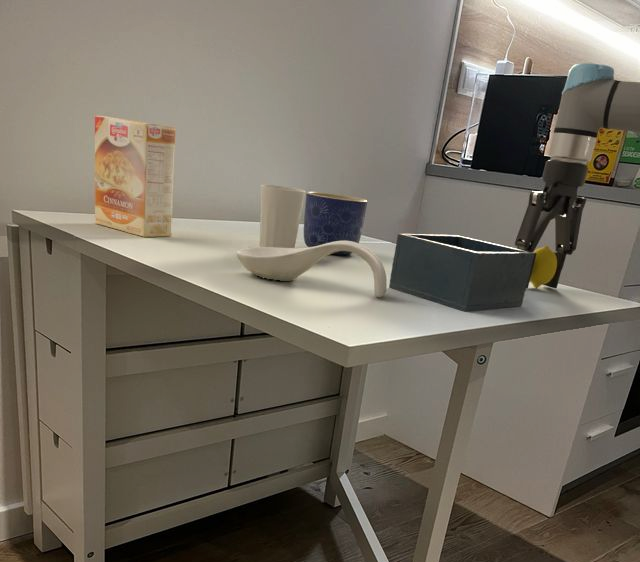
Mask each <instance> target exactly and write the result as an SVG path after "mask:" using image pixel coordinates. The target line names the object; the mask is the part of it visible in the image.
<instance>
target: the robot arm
mask: <svg viewBox="0 0 640 562" xmlns="http://www.w3.org/2000/svg"><path fill="white" fill-rule="evenodd" d="M614 75H615V69H614V68H613V67H612V66H610V65H606V64H597V63H592V62H589V63H587V62H584V63H577V64H574V65H573V66H571V67H570V69H569V71H568V74H567V78H566V82H565V84H564V88H563V90H562V91H561V99H560V103H559V108H558V112H557V115H556V116H557V117H556V119H555V120H556V121H555V125H554V129H553V133H552V138H551V141H550V146H549V149H548V153H547V156H548V157H549V158H550V159H547V161H545V164H544V169H543V172H542V176H541V181H543V182H544V186H543V188H542V190H541V191H534V190H531V192H529V197H528V203H527V207H526V210H525V213H524V216H523V219H522V222H521V223H520V227H519V230H518V233H517V235H516V238H515V241H514V246H515V247H516V249H519V250H524V251H528V252H532V253H533V252H534V251H535V250H536V248H537V246H538V244H539V243H540V241H541V239H542V237H543V235H544V233H545V231H546V229H547V228H548V226H549V223H550V222H551V221H552V220H555V225H554V226H555V227H554V229H555V230H554V232H555V234H554V235H555V238H554V240H555V242H554V243H555V244H554V245H555V246H554V247H555V251H553V252H554V253H555V255H556V258H557V268H556V272H555V274H554V276H553V278H552V279H551V280H550V281H549V282H548V283H546V284H544V285H543V286H545V287H548V288H552V289H557V288H558V285H559V281H560V279H561V278H560V276H561V273H562V270H563V269H564V265H565V261H566V258H567V255H569V256H572V255H573V253H574V252H575V251H576V249H577V246H578V241H579V240H578V239H579V233H580V228H581V224H582V223H581V222H582V217H583V211H584V208H585V205H586V204H587V198H586V197H581V196H578V189H579V188H582V187H583V186H584V185H585V183H586V179H587V175H588V171H589V166H588V165H587V163H590V162H591V161H592V158H593V155H594V150H595V146H596V142H597V138H598V134H599V131H600V129H607V130H615V131H623V132H632V133H633V134H635V135H636V136H637V137H638V138H640V82H639V81H625V80H624V81H622V80H618V79H615V77H614ZM536 254H537V253H535V255H534V259H533V263H532V267H531V271H530V275H529V279H528V283H527V287H526V289H529V285H530V283H531V282H530V278H531V274H532V270H533V266H534V262H535V258H536Z"/></svg>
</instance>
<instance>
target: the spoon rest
mask: <svg viewBox="0 0 640 562" xmlns="http://www.w3.org/2000/svg"><path fill="white" fill-rule="evenodd" d="M338 251H349V252H353V253H352V254H355V255H357V256H359V257H360V258H361V259H363V260H364V261H365V262H366V263H367V264H368V265H369V267H370V270H371V271H372V275H373V282H374V283H373V284H374V285H373V287H374V288H373V294H374V297H375V298H381V297H382V296H383V295H384V294H386V292H387V285H388V284H387V280H388V279H387V273H386V269H385V267H384V265H383V262H382V260H381V259H380V258H379V256H378V255H377V254H376V253H374V251H372V250H371V249H370V248H368V247H367V246H365V245H363V244H362V243H359V244H358V243H356V242H352V241H335V242H330V243H326V244H322V245H319V246H315V247H301V248H300V247H295V248H276V247H260V246H253V247H245V248H241V249H238V250H236V252H235V254H236V257H237V259H238V261H239V262H240V264H242V266H243V267H244V268H245V269H246V270H248V271H249V272H251V273H252V274H254V275H255V274H256V275H255V276H257V275H258V276H261V277H264V278H268V279H267V280H269V279H274V280H273V281H276V280H280V281H279V282H291V281H294V280H296V279H297V278H298V277H300V276H302V275H303V274H304V273H306V272H307V271H308V270H310V269H311V268H312V267H313V266H315V265H316V264H317V263H318V262H320V261H321V260H323V259H324V258H326V257H327V256H329V255H332V254H331V253H334V252H338ZM258 276H257V277H258ZM261 277H260V278H261ZM264 278H263V279H264Z"/></svg>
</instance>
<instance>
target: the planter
mask: <svg viewBox="0 0 640 562" xmlns="http://www.w3.org/2000/svg"><path fill="white" fill-rule="evenodd" d="M304 204H305V205H304V215H303V217H304V218H303V241H304V244H305V245H306V248H308V247H315V246H319V245H322V244H326V243H330V242H335V241H352V242H356V243H358V244H360V241H361V237H362V232H363V227H364V223H365V217H366V213H367V206H368V200H367V199H364V198H361V197H356V196H350V195H344V194H337V193H330V192H320V191H306V192H305V203H304ZM351 254H354V253H353V252H349V251H338V252H334V253H331V254H330V255H339V256H343V255H344V256H345V255H351Z"/></svg>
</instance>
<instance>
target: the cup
mask: <svg viewBox="0 0 640 562" xmlns="http://www.w3.org/2000/svg"><path fill="white" fill-rule="evenodd" d="M305 197H306V190H304V189H301V188H295V187H288V186H283V185H274V184H261V185H260V217H259V218H260V221H259V223H260V224H259V247H276V248H296V243H297V237H298V232H299V227H300V220H301V216H302V212H303V211H302V210H303V205H304V202H305V201H304V200H305Z"/></svg>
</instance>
